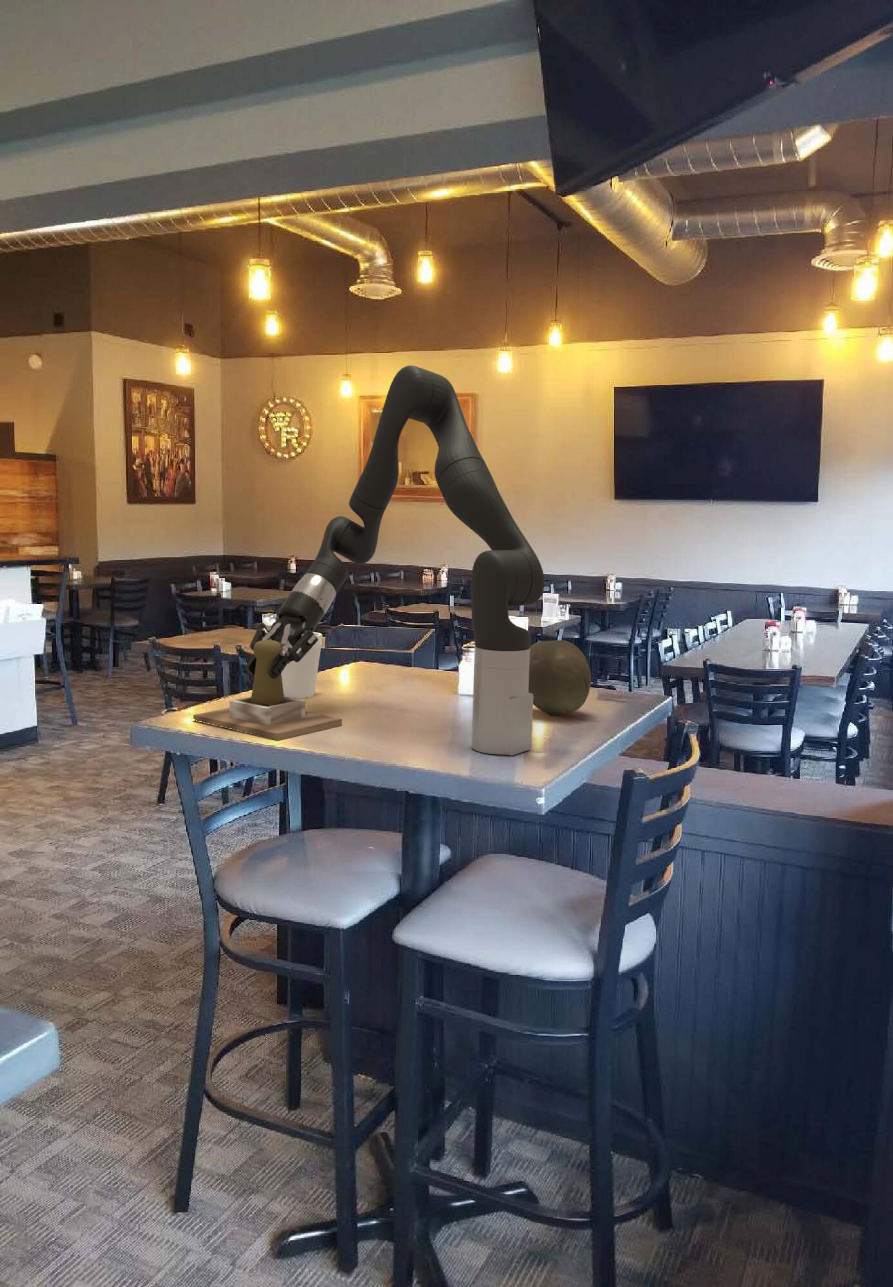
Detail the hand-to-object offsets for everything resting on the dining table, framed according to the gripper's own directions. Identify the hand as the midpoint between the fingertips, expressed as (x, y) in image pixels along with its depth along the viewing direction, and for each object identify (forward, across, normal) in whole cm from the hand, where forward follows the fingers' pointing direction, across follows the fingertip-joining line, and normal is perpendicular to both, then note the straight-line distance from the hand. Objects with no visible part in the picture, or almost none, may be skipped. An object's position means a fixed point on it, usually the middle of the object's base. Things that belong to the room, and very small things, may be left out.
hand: (260, 673), depth 173 cm
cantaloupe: (-25, +35, +38) cm, 58 cm away
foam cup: (-10, -15, +24) cm, 30 cm away
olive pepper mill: (+2, 0, +5) cm, 6 cm away
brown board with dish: (+5, 0, +8) cm, 10 cm away
